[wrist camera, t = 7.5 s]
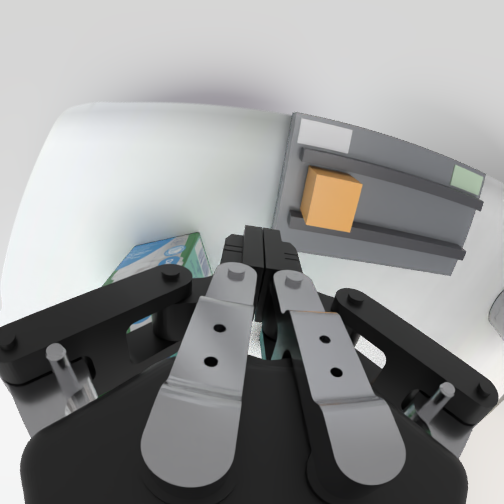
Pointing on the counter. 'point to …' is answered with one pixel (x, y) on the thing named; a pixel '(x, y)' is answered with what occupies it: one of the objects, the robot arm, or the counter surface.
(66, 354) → the robot arm
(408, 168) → the switch plate
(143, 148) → the counter surface
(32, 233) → the counter surface
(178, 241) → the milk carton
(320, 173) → the switch knob
